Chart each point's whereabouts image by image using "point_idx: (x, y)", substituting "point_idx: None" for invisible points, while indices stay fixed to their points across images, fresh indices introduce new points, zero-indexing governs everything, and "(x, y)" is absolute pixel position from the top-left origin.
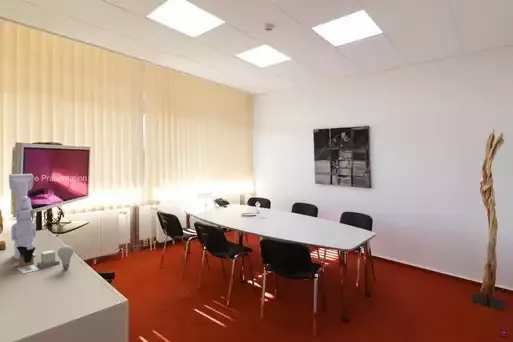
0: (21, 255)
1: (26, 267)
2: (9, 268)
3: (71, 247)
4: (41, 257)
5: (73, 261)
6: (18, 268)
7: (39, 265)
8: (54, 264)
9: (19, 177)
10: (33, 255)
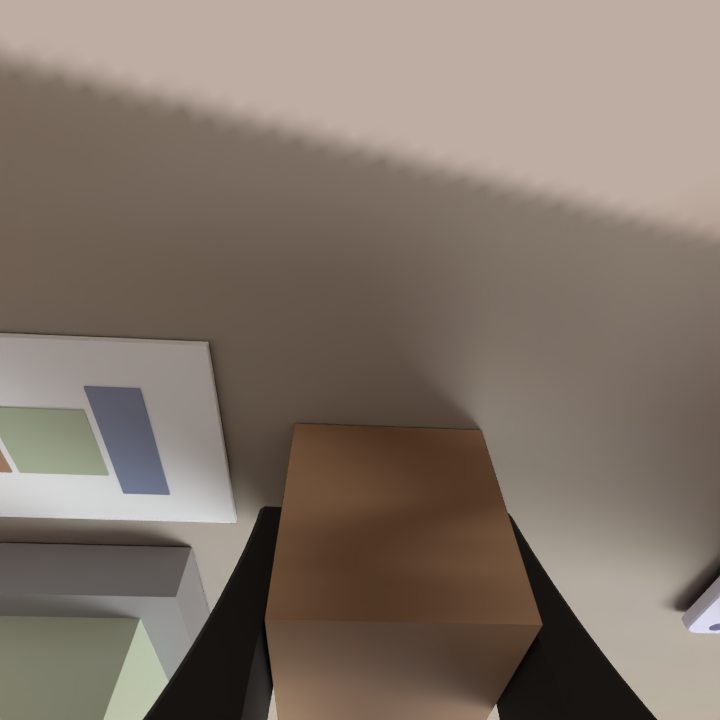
0: (466, 641)
1: (126, 447)
2: (381, 256)
3: None
4: (88, 704)
5: None
6: (173, 360)
7: (81, 555)
8: None
9: None
10: (695, 616)
